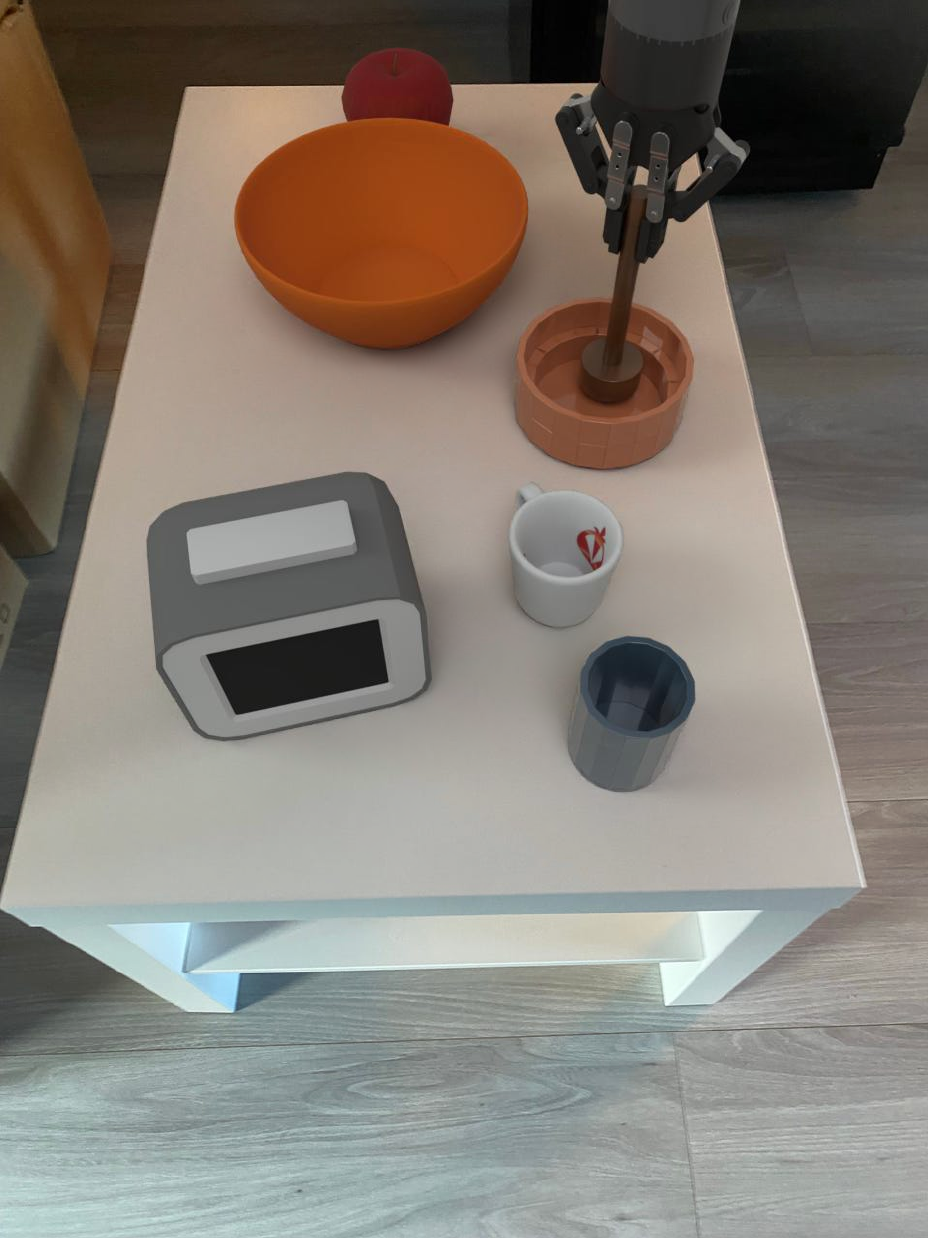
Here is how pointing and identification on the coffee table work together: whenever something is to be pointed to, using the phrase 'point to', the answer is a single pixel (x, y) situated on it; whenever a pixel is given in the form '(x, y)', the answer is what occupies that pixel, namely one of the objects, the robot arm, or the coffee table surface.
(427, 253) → the bowl
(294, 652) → the alarm clock
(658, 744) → the utensil crock
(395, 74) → the apple
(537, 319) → the mixing bowl
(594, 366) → the wooden plunger
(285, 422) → the coffee table surface
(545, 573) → the cup
